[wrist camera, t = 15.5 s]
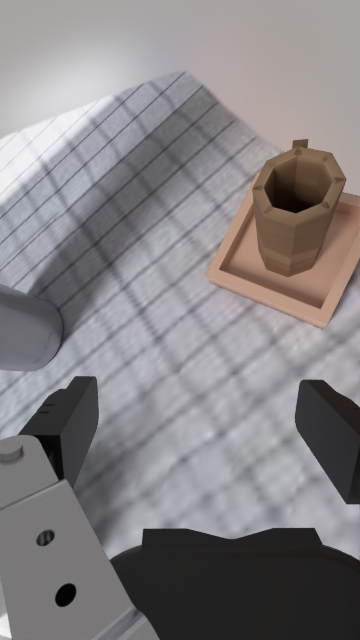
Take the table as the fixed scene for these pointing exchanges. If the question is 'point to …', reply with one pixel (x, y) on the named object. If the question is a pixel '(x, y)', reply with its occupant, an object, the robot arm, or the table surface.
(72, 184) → the table surface
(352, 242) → the tray
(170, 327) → the table surface
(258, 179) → the octagonal pencil holder
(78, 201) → the table surface
